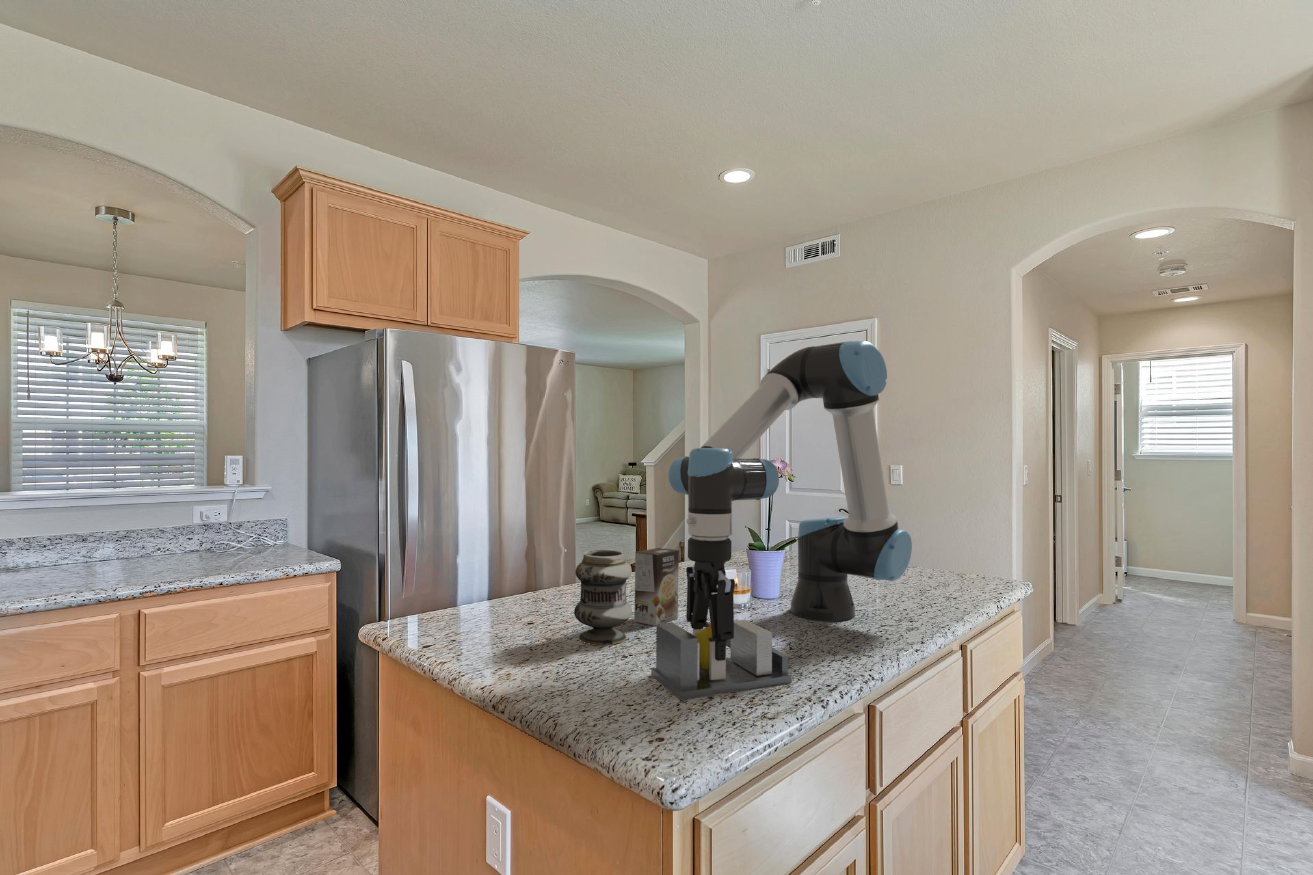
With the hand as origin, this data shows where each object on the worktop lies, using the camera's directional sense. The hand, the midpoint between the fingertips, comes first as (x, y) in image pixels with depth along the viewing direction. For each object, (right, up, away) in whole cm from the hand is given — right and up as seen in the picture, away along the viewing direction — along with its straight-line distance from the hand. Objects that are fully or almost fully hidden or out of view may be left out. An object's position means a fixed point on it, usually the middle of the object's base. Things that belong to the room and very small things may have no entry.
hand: (708, 671), depth 111 cm
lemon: (0, -1, 0) cm, 1 cm away
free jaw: (+5, 0, +8) cm, 10 cm away
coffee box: (-9, -2, +39) cm, 40 cm away
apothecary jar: (-20, -2, +24) cm, 31 cm away
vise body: (+2, -2, +1) cm, 3 cm away
